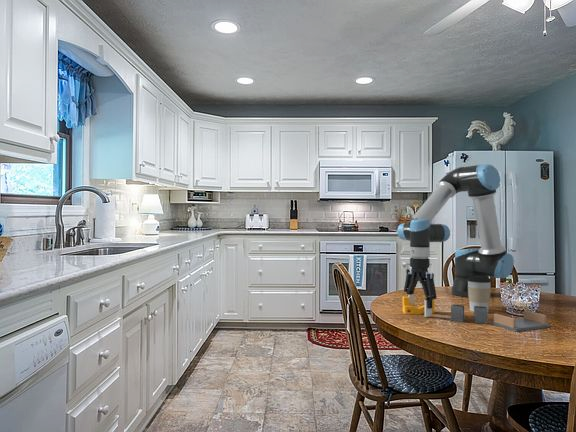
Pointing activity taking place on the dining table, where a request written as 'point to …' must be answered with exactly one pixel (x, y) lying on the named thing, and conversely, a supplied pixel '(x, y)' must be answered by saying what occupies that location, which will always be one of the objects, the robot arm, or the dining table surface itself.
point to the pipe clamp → (414, 307)
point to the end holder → (521, 321)
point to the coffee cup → (479, 291)
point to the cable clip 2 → (480, 314)
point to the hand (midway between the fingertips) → (419, 313)
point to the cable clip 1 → (457, 313)
